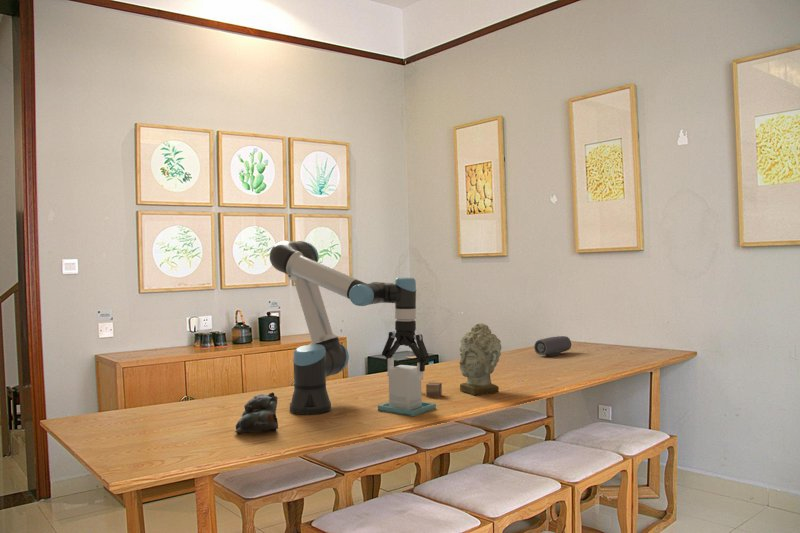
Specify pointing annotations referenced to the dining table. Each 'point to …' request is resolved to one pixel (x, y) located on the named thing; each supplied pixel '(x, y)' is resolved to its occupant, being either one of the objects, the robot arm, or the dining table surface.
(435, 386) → the walnut block
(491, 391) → the buddha head
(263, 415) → the lucky cat figurine
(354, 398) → the dining table surface
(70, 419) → the dining table surface
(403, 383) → the supplement box
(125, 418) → the dining table surface
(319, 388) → the robot arm
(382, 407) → the tray
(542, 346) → the bluetooth speaker
